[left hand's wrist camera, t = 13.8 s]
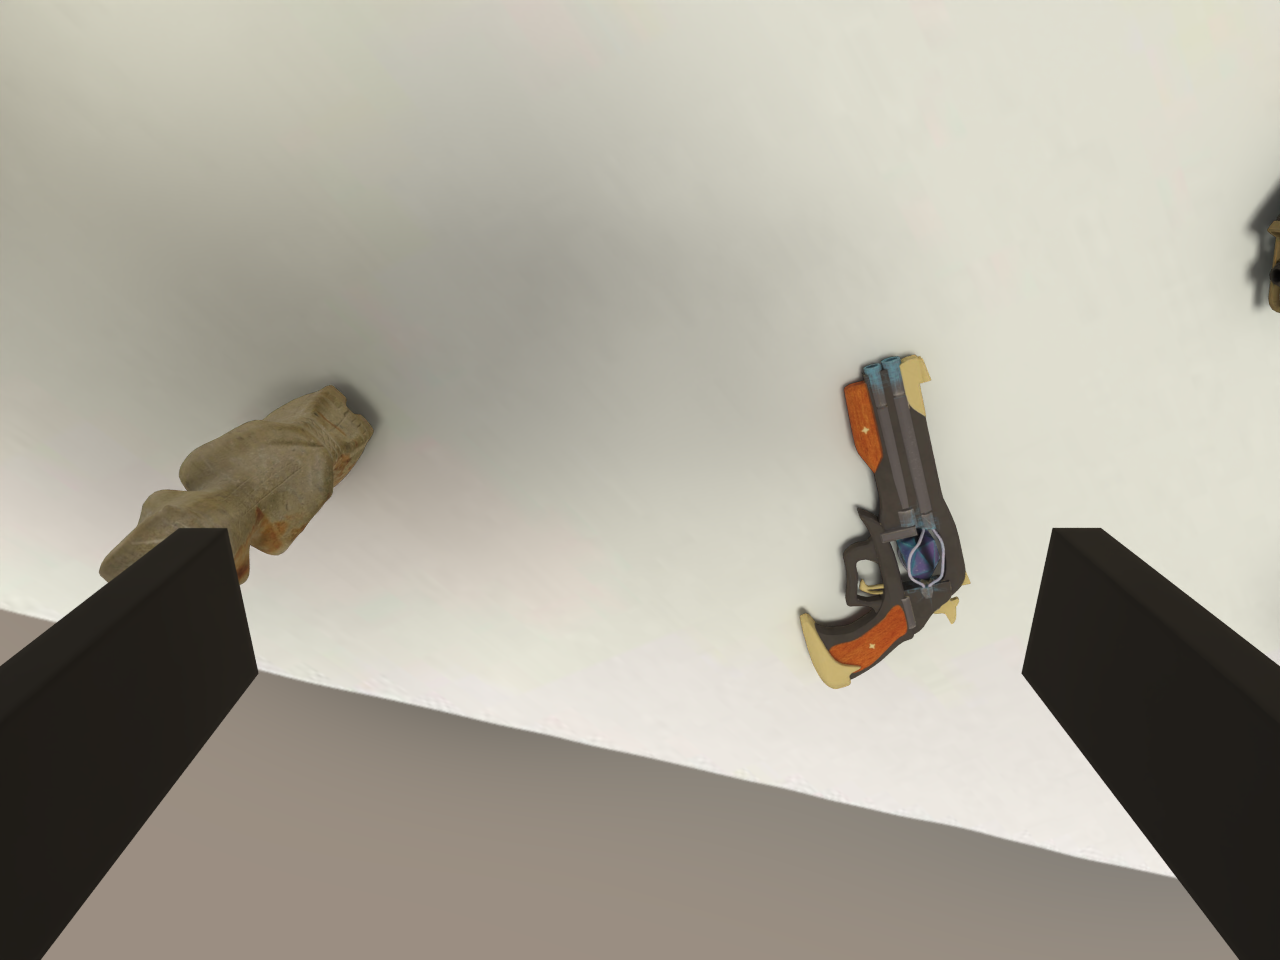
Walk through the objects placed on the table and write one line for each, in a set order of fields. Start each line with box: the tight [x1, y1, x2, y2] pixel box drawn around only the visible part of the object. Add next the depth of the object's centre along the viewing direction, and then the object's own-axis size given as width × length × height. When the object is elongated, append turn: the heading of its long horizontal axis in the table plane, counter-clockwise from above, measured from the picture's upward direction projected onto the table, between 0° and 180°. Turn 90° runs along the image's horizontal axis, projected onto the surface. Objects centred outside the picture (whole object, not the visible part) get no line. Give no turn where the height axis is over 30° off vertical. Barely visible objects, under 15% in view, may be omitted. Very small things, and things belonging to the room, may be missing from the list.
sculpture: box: [99, 385, 373, 585], centre depth 36 cm, size 6×7×15 cm
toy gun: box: [800, 355, 970, 689], centre depth 45 cm, size 3×19×10 cm
